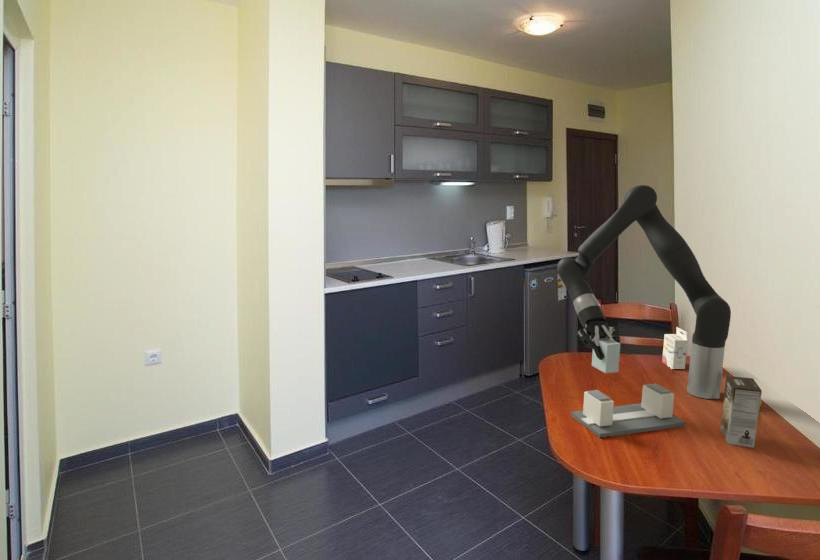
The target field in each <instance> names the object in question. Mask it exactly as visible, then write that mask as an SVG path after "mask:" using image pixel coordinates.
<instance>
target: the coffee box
mask: <svg viewBox="0 0 820 560" xmlns="http://www.w3.org/2000/svg"><path fill="white" fill-rule="evenodd" d="M724 387H725V388H724V393H723V394H724V396H723V403H722V412H721V419H720V420H721V421H720V430H721V433H722V435H723V437H724V439H725V442H726V443H727V444H728V445H734V446H740V447H747V448H752V449H754V448H755V443H756V437H757V427H758V422H759V421H758V420H759V415H760V414H759V413H760V409H761V408H760V406H761V401H762V392H763V391H762V389H761V388H760V386H759V384H758V383H757V382H756V380H755V379H754V378H752V377H743V376H742V377H741V376H732V375H726V379H725V386H724Z"/></svg>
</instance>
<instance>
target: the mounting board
mask: <svg viewBox="0 0 820 560" xmlns="http://www.w3.org/2000/svg"><path fill="white" fill-rule="evenodd" d="M570 416H571V417H572V418H573V419H575V420H576V421H577V422H578V421H579V424H581V423H582V424H583V427H585V426H586V427H587V428H588V429H587V428H586V427H585V428H586V429H587V430H589V431H590V430H591V431H592V432H591V431H590V432H591V433H593V434H594V435H595V436H596V435H597V438H599V439H601V438H600V437H603V438H608V437H607V436H610V437H616V436H623V435H624V436H625V435H631V434H638V433H646V432H652V431H659V430H660V431H661V430H667V429H673V428H681V427H682V428H683V427H686V426H687V425H686V424H687V423H686V421H685V420H684V419H681V418H679V417H677V416H676V415H674V414H672V417H668V418H661V419H660V418H659V417H657V416H655V415H654V414H652V413H650V412H649V411H647V410H645V409H644V408H642V407H641V402H640V403H632V404H624V405H617V406H616V405H614V407H613V420H612V425H608V426H598V425H597V424H595V423H594V422H593V421H591V420H590V419H589V418H587V417H586V416H585V415H583V409H582V410H575V411H571V412H570ZM582 424H581V425H582Z"/></svg>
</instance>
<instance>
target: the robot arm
mask: <svg viewBox="0 0 820 560" xmlns="http://www.w3.org/2000/svg"><path fill="white" fill-rule="evenodd" d="M657 201H658V194H657V192H656V190H655V189H654V188H653V187H652V186H650V185H646V184H641V185H635V186H634V187H632V188H629V190H627V191H626V192H625V195H624V197H623V202H622V203H621V205H620V206H619V207H618V208H617V210H616V211H615V212H613V214H612V215H611V216H610V217H609V218H608V219H607V220H606V221H605V222H603V223H602V224H601V225H600V226H599V227H598V228H596V229H595V230H594V231H593V232H592V233H591V234H590V235H589V236H588V238H586V239H585V240H584V241H583V243H582V244H581V245H579V246H578V249H577V253H578V255H577V257H576V258H575V259H574V258H572V257H567V256H566V257H563V258H562V259H560V260H559V262H557V267H556V269H557V270H556V271H557V273H558V276H559V278H560V280H561V281H562V283H563V284H564V286H565V288H566V289H567V291H568V294H569V297H570V299H571V301H572V303H573V307H574V309H575V312H576V314H577V317H578V319H579V322H580V324H581V326H582V327H583V328H580V329H579V330H578V331H577V333H576V334H577V336H578V337H579V339H580V340H581V341H582V343H583V344H584V346H585V347H586V348H587V349H592V350H593V349H594V351H595V354H596V356H597V358H599V360H602V359H603V358H604V357H605V356H604V354H603V352H602V349H601V347H600V346H599V342H598V340H599V338H606V337H607V339H611V340H613V341H616V342H618V343H620V344H621V338H620V331H619V328H618V326H617V325H614V326H609V324H608V322H607V321H606V316H605V314H604V312H603V310H602V308H601V305H600V303H599V301H598V299H597V298H596V296H595V294H594V292H593V290H592V287H591V285H590V284H589V283H588V282H587V280H586V279H584V278H585V277H586V275H587V274H588V273H589V272H590V270H591V268H592V267H593V265H594V263H595V261H596V260H598V259H599V257H600V256H601V255H603V253H604V252H606V250H607V249H608V248H609V247H610V246H611V245H612V244H613V243H614V242H615V241H616V240H617V239H618V238H619V237H620V235H621V234H622V233H624V231H626V230H627V229H628V228H629V227H630V226H631V225H632V224H633V223H634V222H637V224H638V225H639V226H640V227H641V229H642V231H643V232H644V234H645V236H646V237H647V239H648V241H649V244H650V245H651V247H652V249H653V250H654V252H655V254H656V255H657V258H659V260H660V262H661V263H662V265H663V266H664V268H665V270H667V272H668V273H669V274H670V275H671V276H672V278H673V279H674V280H675V281H676V282H677V283H678V285H679V286H680V287H681V289H682V290H683V291H684V293H685V295H686V297H687V298H688V301H689V302H690V305H691V308H692V309H693V312H694V313H695V315H696V318H695V328H694V332H693V334H692V338H691V348H690V355H689V356H690V357H689V365H688V367H689V369H688V377H687V383H686V384H687V385H686V388H687V389H686V392H687V394H690V395H692V396H694V397H697V398H702V399H706V400H707V399H708V400H721V399H720V397H721V389H722V380H723V366H724V359H725V358H724V357H725V349H726V348H725V346H726V341H727V339H728V337H729V332H730V331H729V329H730V322H731V318H732V317H731V314H732V312H731V307H730V305H729V303H728V302H727V301H726V300H725V299H723V298H722V296H720V295H719V294H718V292H716V291H715V289H714V288H713V286H711V284H710V282H709V281H708V280H707V279H706V277H705V275H704V273H703V271H702V269H701V266H700V263H699V261H698V260H697V258H696V255H695V254H694V252H693V250H692V249H691V247H690V246H689V244H688V243H687V241H686V240H685V239H684V237H683V236H682V235H681V234H680V233H679V232H678V230H676V228H674V227H673V226H672V225H671V223H669V222H668V221H667V220H666V219H665V217H664V216H663V214H662V213H661V211H660V208H659V207H658V206H657Z"/></svg>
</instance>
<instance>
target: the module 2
mask: <svg viewBox="0 0 820 560" xmlns="http://www.w3.org/2000/svg"><path fill="white" fill-rule="evenodd" d="M674 402H675V393H673V392H671V390H669V389H668V388H665V387H664V386H662V385H660V384H658V383H656V382H655V383H647V384H643V385H642V393H641V402H640V403H641V407H642V408H644V409H645V410H647V411H649V412H650V413H652V414H654V415H655V416H657V417H659V418H660V419H661V418H668V417H672V415H673V414H674V413H673V411H674Z"/></svg>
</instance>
